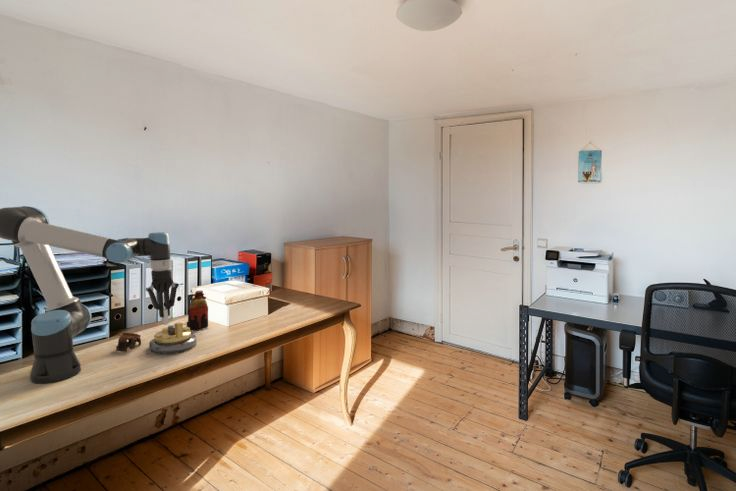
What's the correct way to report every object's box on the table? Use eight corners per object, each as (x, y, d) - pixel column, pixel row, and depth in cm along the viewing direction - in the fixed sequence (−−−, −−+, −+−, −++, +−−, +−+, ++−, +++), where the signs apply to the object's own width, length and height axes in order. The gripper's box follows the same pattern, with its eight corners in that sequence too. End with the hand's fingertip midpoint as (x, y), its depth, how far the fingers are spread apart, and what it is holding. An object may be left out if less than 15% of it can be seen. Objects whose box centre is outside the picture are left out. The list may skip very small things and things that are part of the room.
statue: (206, 324, 214) (205, 287, 212) (209, 328, 208) (208, 290, 205) (181, 327, 207) (180, 289, 205) (184, 332, 201) (183, 292, 198)
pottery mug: (110, 351, 178) (116, 332, 181) (132, 354, 184) (138, 336, 188) (122, 350, 171) (128, 330, 174) (145, 354, 177) (150, 335, 181)
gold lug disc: (148, 339, 181) (147, 321, 180) (181, 331, 193) (180, 313, 191) (163, 347, 172) (162, 328, 171) (197, 338, 183) (196, 319, 182)
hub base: (161, 358, 169) (160, 337, 168) (142, 347, 181) (141, 327, 180) (204, 345, 184) (203, 326, 183) (184, 335, 196) (183, 317, 195)
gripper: (148, 272, 162) (153, 329, 165) (181, 268, 172) (184, 321, 175) (141, 270, 167) (145, 326, 170) (172, 266, 177) (176, 318, 180)
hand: (165, 323), depth 173 cm, fingers closed
